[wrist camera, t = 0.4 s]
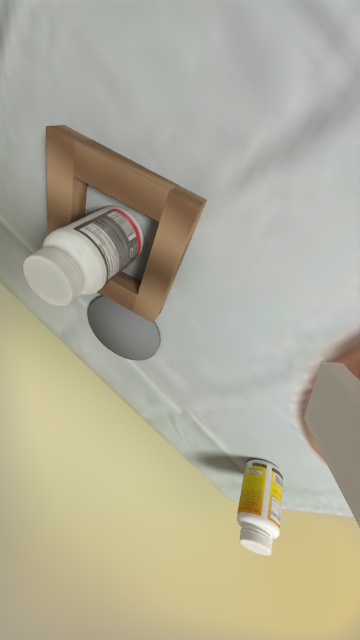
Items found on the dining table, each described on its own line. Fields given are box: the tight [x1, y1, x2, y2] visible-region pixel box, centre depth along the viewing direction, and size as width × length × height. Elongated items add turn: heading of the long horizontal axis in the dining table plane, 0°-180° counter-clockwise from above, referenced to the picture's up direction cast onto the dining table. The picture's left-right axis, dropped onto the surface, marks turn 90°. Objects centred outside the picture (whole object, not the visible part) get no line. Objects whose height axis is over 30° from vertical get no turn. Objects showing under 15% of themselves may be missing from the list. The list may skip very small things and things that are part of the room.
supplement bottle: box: [237, 460, 283, 555], centre depth 37 cm, size 6×6×10 cm
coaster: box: [88, 296, 160, 360], centre depth 33 cm, size 10×10×1 cm
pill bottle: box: [23, 206, 144, 306], centre depth 22 cm, size 5×5×10 cm
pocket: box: [46, 125, 207, 323], centre depth 24 cm, size 13×13×2 cm
